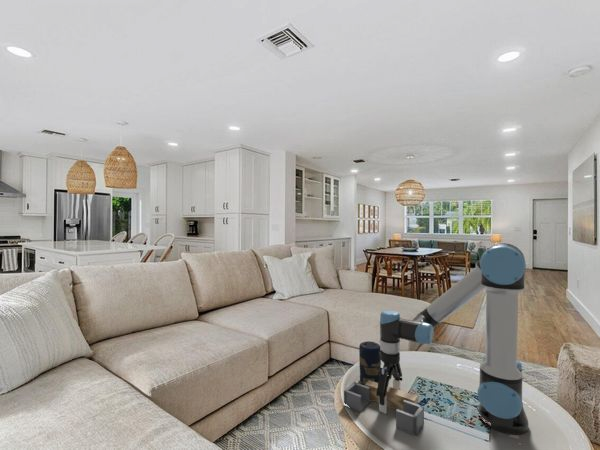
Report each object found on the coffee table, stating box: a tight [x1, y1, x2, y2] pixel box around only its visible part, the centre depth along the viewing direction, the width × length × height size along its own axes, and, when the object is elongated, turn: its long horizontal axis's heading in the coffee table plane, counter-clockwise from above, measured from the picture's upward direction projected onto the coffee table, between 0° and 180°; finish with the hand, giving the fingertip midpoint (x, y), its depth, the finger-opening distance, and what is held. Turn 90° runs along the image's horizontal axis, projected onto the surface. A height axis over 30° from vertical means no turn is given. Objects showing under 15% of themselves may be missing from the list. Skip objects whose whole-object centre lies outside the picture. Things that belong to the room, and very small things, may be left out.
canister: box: [358, 340, 382, 385], centre depth 139 cm, size 10×10×18 cm
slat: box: [364, 380, 419, 411], centre depth 122 cm, size 20×4×6 cm, turn 52°
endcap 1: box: [343, 381, 371, 413], centre depth 122 cm, size 7×8×6 cm
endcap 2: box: [395, 400, 425, 437], centre depth 109 cm, size 7×8×6 cm
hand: (389, 403), depth 122 cm, fingers open, 13 cm apart
